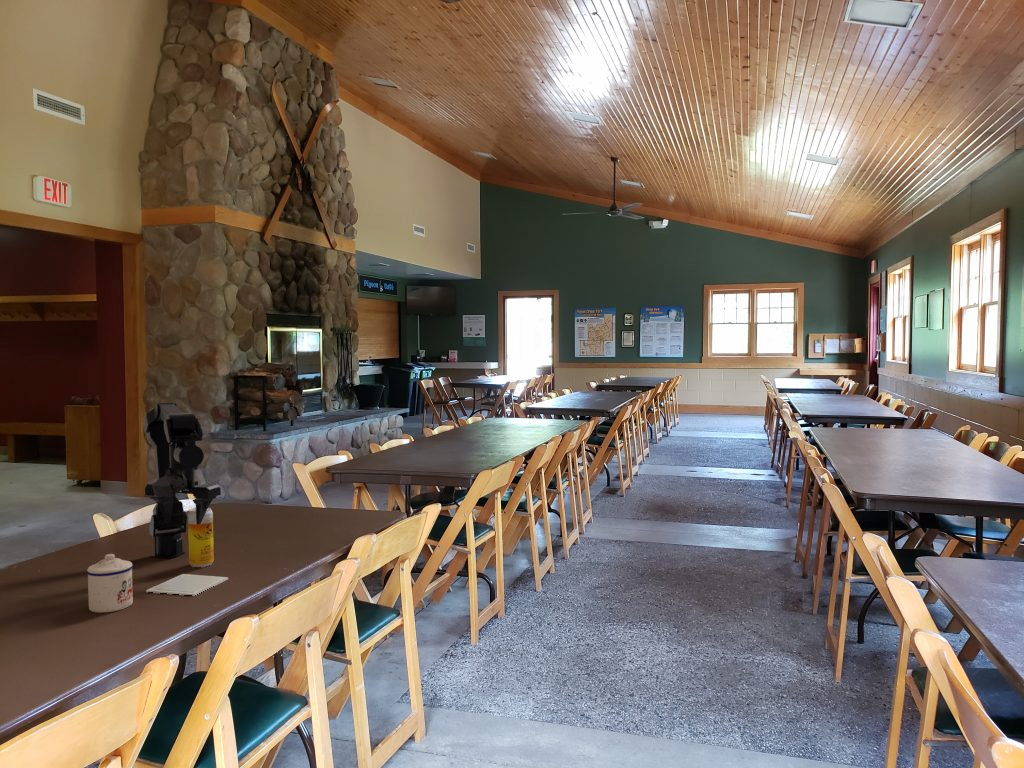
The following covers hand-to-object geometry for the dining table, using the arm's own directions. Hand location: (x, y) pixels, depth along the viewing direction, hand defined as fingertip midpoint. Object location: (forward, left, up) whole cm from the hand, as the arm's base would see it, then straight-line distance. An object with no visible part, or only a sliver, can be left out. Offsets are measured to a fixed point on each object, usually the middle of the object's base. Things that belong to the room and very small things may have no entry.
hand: (183, 523), depth 188 cm
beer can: (0, +7, -13) cm, 15 cm away
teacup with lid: (0, -24, -13) cm, 28 cm away
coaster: (+8, -9, -13) cm, 18 cm away
